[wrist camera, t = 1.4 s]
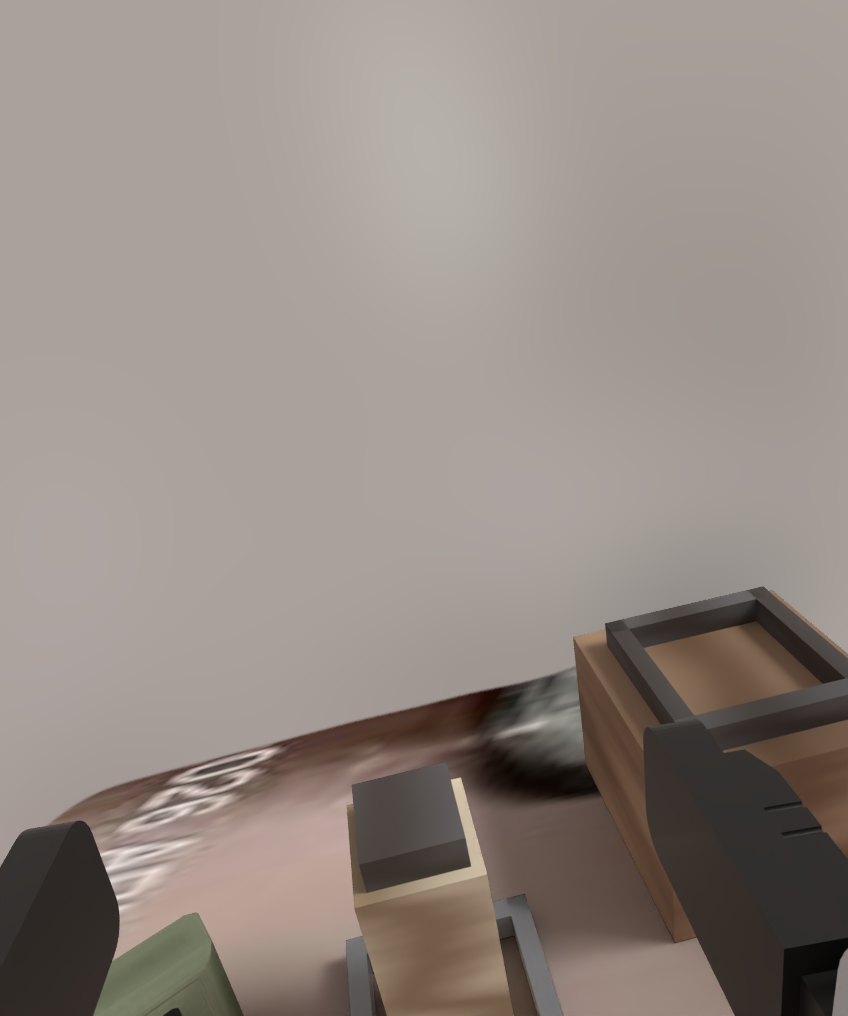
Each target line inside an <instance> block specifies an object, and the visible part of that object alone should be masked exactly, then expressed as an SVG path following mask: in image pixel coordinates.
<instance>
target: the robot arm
mask: <svg viewBox="0 0 848 1016" xmlns="http://www.w3.org/2000/svg"><path fill="white" fill-rule="evenodd" d="M643 750H644V775H645V800H646V815H647V822H648V827H649V831H650V835H651V839H652V842H653V845H654V848H655V851H656V853H657V856H658V858H659V860H660V862H661V865H662V867H663V869H664V871H665V873H666V875H667V877H668V879H669V881H670V883H671V885H672V887H673V889H674V891H675V893H676V895H677V897H678V900H679V902H680V904H681V906H682V908H683V910H684V912H685V914H686V916H687V918H688V920H689V922H690V924H691V926H692V928H693V930H694V933H695V935H696V937H697V939H698V941H699V943H700V945H701V947H702V949H703V951H704V953H705V955H706V957H707V959H708V961H709V963H710V965H711V968H712V970H713V972H714V974H715V976H716V978H717V980H718V982H719V984H720V986H721V988H722V990H723V992H724V994H725V996H726V998H727V1000H728V1003H729V1005H730V1007H731V1009H732V1011H733V1013H734V1015H735V1016H848V859H847V857H846V856H845V855H844V854H843V852H842V851H841V850H840V849H839V847H838V846H837V845H836V844H835V842H834V841H833V840H832V838H831V837H830V836H829V835H828V833H827V832H823V830H822V827H821V825H820V823H819V822H818V821H817V820H816V818H815V817H814V816H813V814H812V813H811V812H810V811H809V809H808V808H807V807H804V806H803V804H802V801H801V799H800V798H799V797H798V796H797V794H796V793H795V792H794V790H793V789H792V788H791V787H790V785H789V784H788V783H787V782H786V780H785V779H784V778H783V777H782V775H781V774H780V773H779V772H778V771H777V770H775V769H774V768H772V767H771V766H769V765H768V764H766V763H765V762H763V761H762V760H760V759H759V758H757V757H755V756H754V755H752V754H751V753H749V752H748V751H746V750H745V749H744V750H738V751H732V752H726V753H724V752H723V751H722V749H721V748H720V747H719V745H718V744H717V742H716V741H715V740H714V738H713V737H712V735H711V734H710V733H709V731H708V730H707V728H706V727H705V726H704V724H703V723H702V722H701V721H700V720H698V719H692V720H686V721H680V722H675V723H669V724H663V725H657V726H651V727H646V728H645V730H644V733H643ZM119 922H120V920H119V908H118V903H117V899H116V896H115V893H114V891H113V888H112V885H111V883H110V880H109V877H108V875H107V872H106V869H105V867H104V864H103V861H102V859H101V856H100V853H99V851H98V848H97V845H96V843H95V840H94V837H93V834H92V832H91V830H90V828H89V826H88V825H87V824H86V823H85V822H83V821H74V822H68V823H62V824H56V825H50V826H44V827H38V828H33V829H28V830H25V831H23V832H22V833H21V834H20V835H19V836H18V838H17V839H16V841H15V843H14V844H13V846H12V848H11V850H10V851H9V853H8V855H7V856H6V858H5V860H4V862H3V863H2V865H1V867H0V1016H93V1015H94V1012H95V1009H96V1006H97V1003H98V1000H99V998H100V995H101V992H102V989H103V986H104V983H105V980H106V977H107V974H108V971H109V968H110V965H111V963H112V960H113V957H114V954H115V951H116V947H117V943H118V937H119Z"/></svg>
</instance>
